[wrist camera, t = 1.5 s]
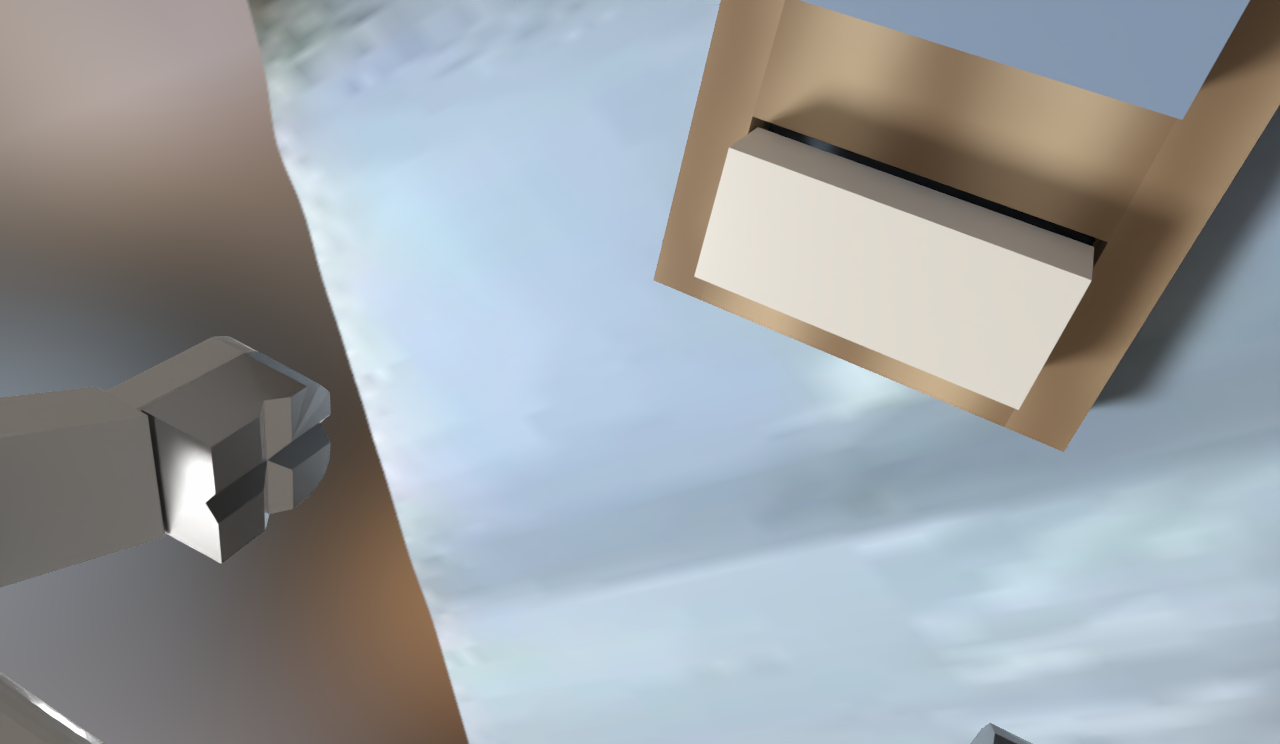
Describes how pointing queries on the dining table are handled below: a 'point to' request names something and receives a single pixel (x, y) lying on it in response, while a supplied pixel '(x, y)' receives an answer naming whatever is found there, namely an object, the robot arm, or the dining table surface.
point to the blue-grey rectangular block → (1077, 40)
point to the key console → (982, 169)
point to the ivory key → (893, 264)
